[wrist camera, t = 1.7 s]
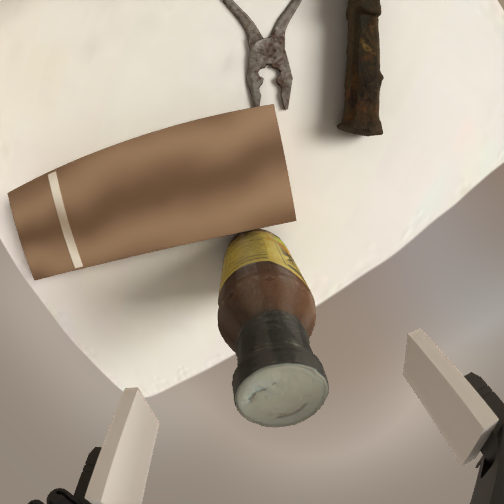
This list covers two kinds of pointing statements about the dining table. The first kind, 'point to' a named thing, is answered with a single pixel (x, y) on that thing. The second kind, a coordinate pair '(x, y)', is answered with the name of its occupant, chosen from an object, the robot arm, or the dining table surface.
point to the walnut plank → (156, 193)
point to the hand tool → (362, 69)
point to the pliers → (267, 51)
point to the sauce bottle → (269, 332)
